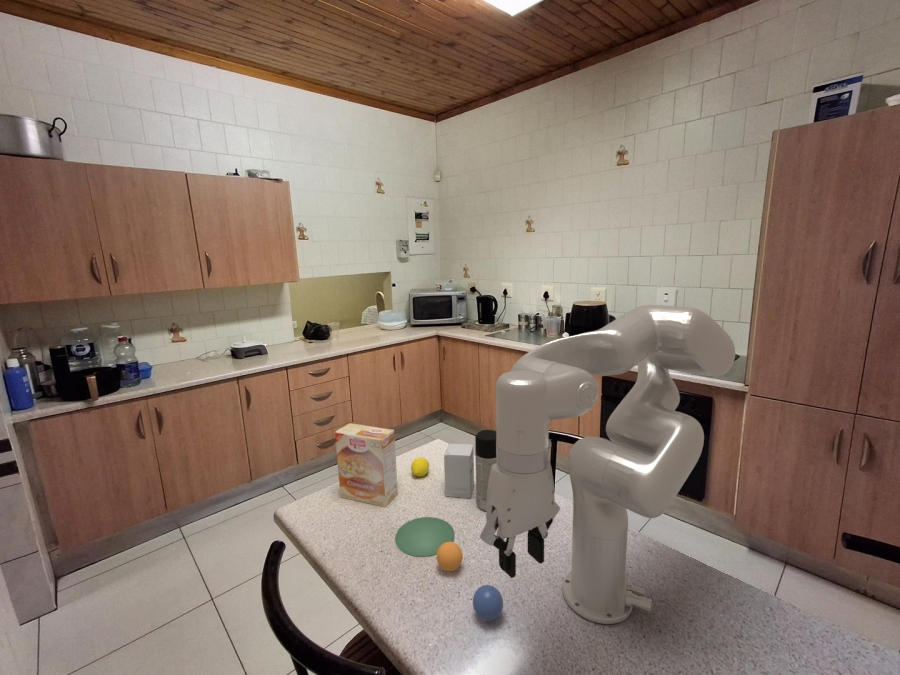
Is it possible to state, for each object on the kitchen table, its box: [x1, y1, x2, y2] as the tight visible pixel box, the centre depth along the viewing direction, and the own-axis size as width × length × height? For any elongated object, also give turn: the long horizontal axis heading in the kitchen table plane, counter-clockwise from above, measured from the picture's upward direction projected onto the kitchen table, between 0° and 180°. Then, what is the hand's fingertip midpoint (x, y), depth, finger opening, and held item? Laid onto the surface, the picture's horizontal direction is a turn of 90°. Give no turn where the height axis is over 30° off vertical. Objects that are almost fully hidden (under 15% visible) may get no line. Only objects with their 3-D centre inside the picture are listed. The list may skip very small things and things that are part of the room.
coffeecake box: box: [334, 422, 399, 508], centre depth 113 cm, size 15×7×20 cm, turn 67°
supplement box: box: [443, 443, 475, 499], centre depth 114 cm, size 7×7×13 cm
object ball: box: [436, 541, 464, 572], centre depth 86 cm, size 6×6×6 cm
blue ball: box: [472, 584, 504, 622], centre depth 74 cm, size 6×6×6 cm
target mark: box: [394, 516, 456, 558], centre depth 97 cm, size 14×14×1 cm
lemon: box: [410, 456, 430, 478], centre depth 125 cm, size 7×5×5 cm
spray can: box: [474, 429, 497, 512], centre depth 107 cm, size 7×7×20 cm
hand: (521, 563), depth 63 cm, fingers open, 4 cm apart
